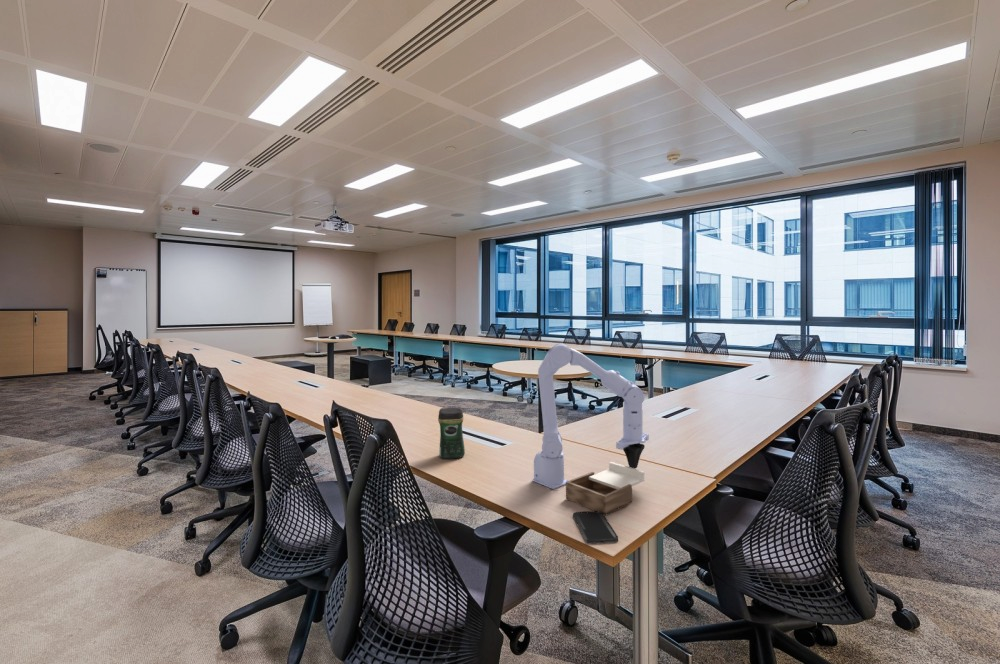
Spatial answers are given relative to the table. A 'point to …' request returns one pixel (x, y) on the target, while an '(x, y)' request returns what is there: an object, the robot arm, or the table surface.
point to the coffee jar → (451, 433)
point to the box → (597, 494)
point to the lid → (618, 476)
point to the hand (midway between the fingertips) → (633, 467)
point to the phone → (595, 527)
